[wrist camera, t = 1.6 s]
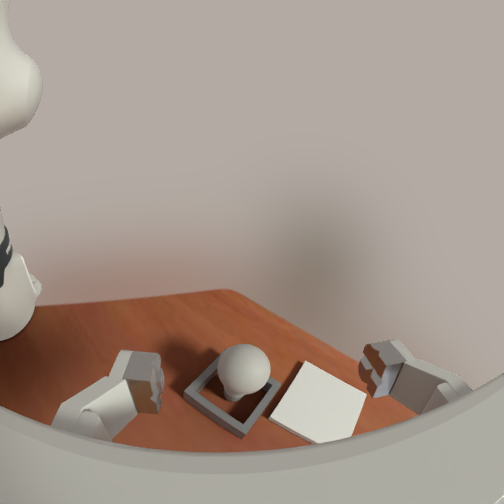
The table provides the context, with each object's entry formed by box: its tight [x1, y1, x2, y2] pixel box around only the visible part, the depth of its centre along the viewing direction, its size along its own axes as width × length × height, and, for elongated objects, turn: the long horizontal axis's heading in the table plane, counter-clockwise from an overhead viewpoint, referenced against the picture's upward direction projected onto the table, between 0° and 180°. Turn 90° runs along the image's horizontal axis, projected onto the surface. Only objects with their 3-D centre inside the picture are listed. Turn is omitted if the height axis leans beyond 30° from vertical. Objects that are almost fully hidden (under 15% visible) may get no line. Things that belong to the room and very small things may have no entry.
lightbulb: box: [217, 344, 270, 402], centre depth 31 cm, size 6×6×11 cm
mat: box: [268, 361, 367, 444], centre depth 35 cm, size 12×12×1 cm
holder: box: [183, 348, 281, 439], centre depth 34 cm, size 10×10×2 cm
